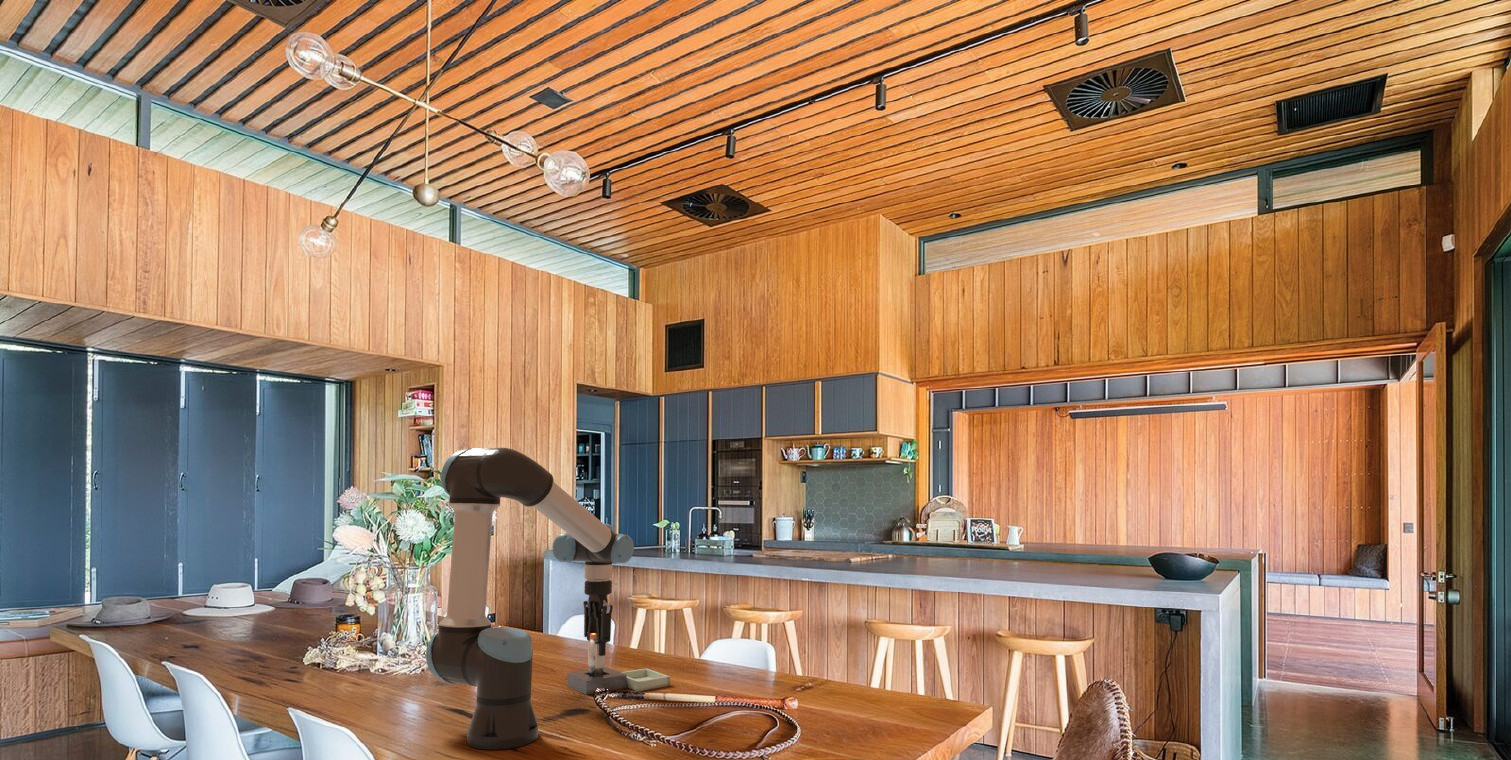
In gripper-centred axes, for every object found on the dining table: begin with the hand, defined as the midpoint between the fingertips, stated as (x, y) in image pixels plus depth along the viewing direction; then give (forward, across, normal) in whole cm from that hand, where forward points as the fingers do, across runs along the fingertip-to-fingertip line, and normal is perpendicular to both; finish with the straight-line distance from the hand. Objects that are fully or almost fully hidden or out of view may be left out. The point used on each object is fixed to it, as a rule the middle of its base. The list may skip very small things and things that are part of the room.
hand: (596, 665), depth 234 cm
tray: (+6, -5, -12) cm, 14 cm away
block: (+6, 0, 0) cm, 6 cm away
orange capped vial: (+4, 0, 0) cm, 4 cm away
